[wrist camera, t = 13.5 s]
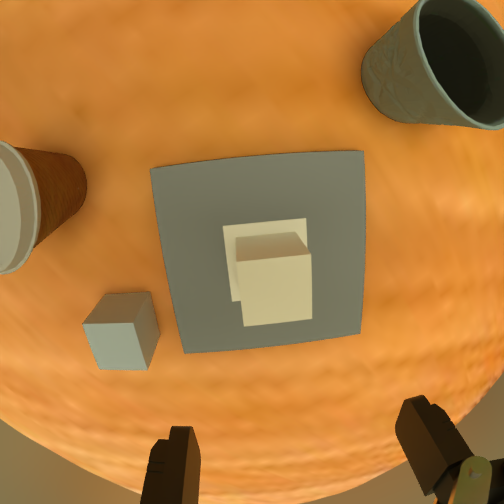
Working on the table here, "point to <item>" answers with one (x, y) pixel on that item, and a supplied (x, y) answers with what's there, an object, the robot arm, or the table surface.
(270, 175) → the board
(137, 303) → the blue grey block
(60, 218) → the disposable coffee cup
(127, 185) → the table surface
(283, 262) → the cream block
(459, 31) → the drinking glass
